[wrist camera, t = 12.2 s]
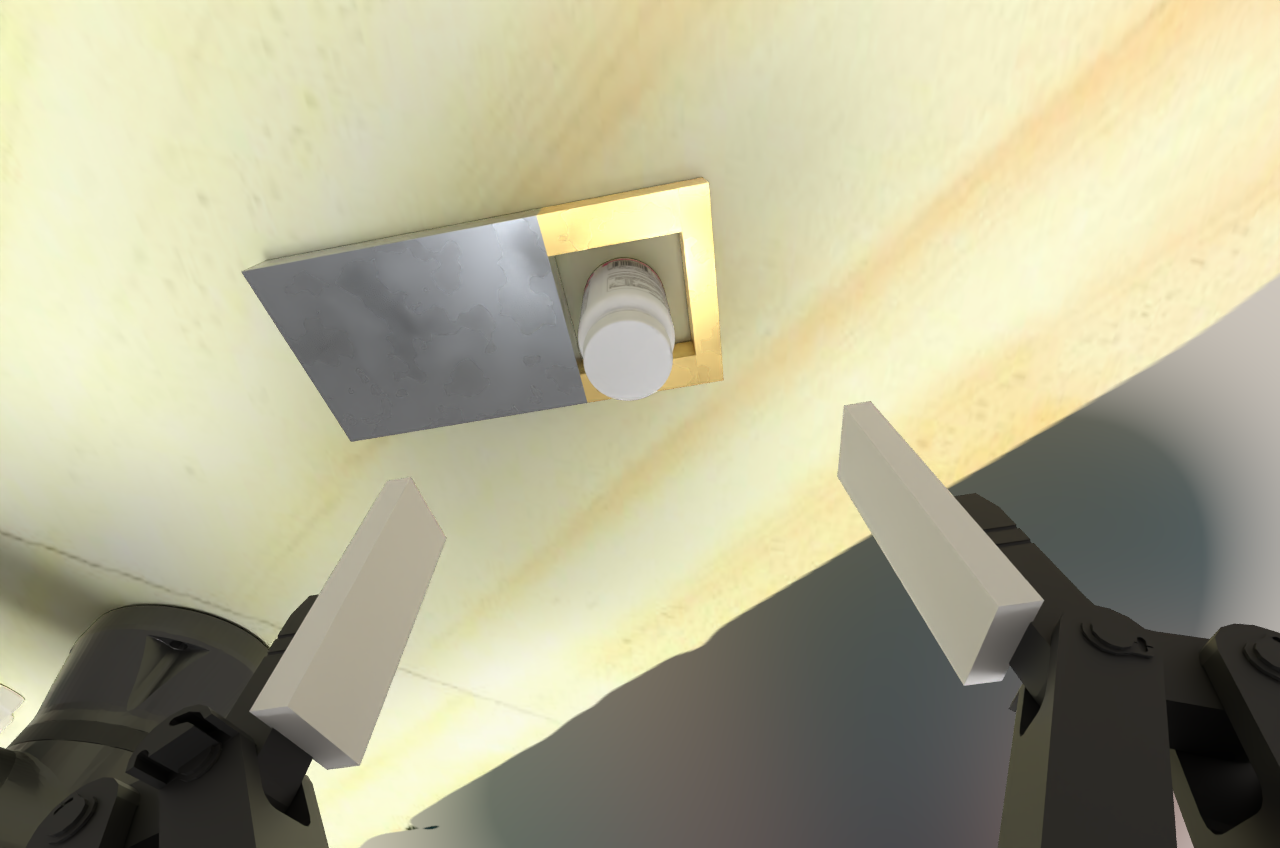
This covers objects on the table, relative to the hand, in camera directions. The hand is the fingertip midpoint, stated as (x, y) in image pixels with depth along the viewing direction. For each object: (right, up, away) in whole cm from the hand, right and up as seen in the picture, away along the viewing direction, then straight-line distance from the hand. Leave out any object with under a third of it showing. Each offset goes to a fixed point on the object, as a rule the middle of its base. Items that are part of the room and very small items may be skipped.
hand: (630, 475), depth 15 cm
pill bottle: (-1, +9, +13) cm, 16 cm away
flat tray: (-7, +8, +13) cm, 17 cm away
